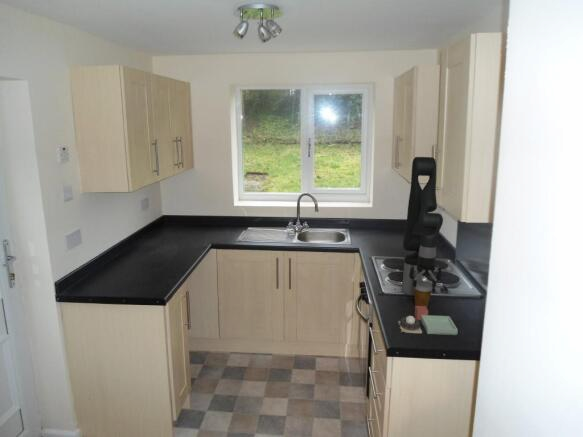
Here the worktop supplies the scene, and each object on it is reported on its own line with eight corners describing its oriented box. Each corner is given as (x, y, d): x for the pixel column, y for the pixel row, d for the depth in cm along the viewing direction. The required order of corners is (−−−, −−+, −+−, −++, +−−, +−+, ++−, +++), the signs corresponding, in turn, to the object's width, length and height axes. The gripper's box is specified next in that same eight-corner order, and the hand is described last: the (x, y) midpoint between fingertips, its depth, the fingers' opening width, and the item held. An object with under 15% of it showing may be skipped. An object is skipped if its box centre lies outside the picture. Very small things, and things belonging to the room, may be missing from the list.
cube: (414, 315, 219) (415, 305, 217) (424, 315, 218) (425, 306, 217) (416, 319, 214) (417, 310, 213) (427, 320, 214) (428, 310, 212)
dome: (404, 322, 207) (405, 313, 206) (413, 322, 207) (414, 314, 206) (406, 326, 203) (407, 317, 202) (415, 326, 203) (416, 318, 202)
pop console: (398, 323, 210) (398, 316, 209) (417, 323, 210) (418, 317, 209) (401, 332, 202) (402, 325, 201) (421, 333, 201) (422, 326, 200)
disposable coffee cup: (434, 306, 229) (436, 284, 226) (425, 312, 222) (427, 289, 219) (416, 300, 235) (418, 279, 232) (408, 306, 228) (410, 284, 225)
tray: (420, 319, 214) (421, 315, 213) (448, 321, 213) (449, 316, 212) (427, 333, 201) (427, 328, 200) (457, 335, 200) (457, 329, 200)
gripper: (440, 252, 211) (437, 284, 215) (410, 251, 212) (407, 283, 216) (444, 258, 204) (441, 291, 208) (413, 257, 205) (410, 289, 209)
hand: (423, 287), depth 212 cm, fingers open, 8 cm apart
